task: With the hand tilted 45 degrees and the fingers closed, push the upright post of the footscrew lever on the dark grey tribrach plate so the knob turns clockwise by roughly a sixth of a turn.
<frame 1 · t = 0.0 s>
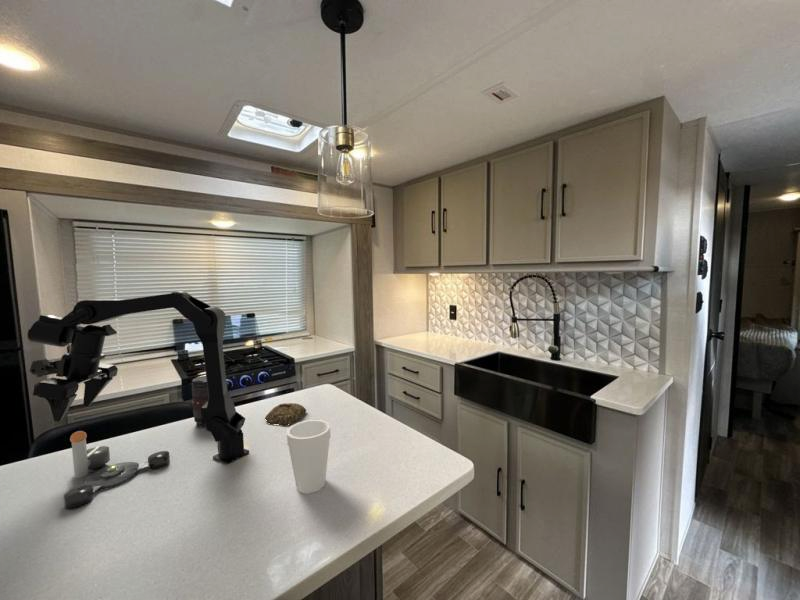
hand: (72, 413, 80), 15 cm above the worktop, tool pointing down, fingers open, 9 cm apart
tribrach: (113, 477, 79), on the worktop
footscrew lever: (88, 446, 81), point 7 cm above the worktop, hinge at 0.0°
camera lens: (208, 423, 109), on the worktop
foam cup: (310, 485, 75), on the worktop
brown rock: (284, 419, 112), on the worktop
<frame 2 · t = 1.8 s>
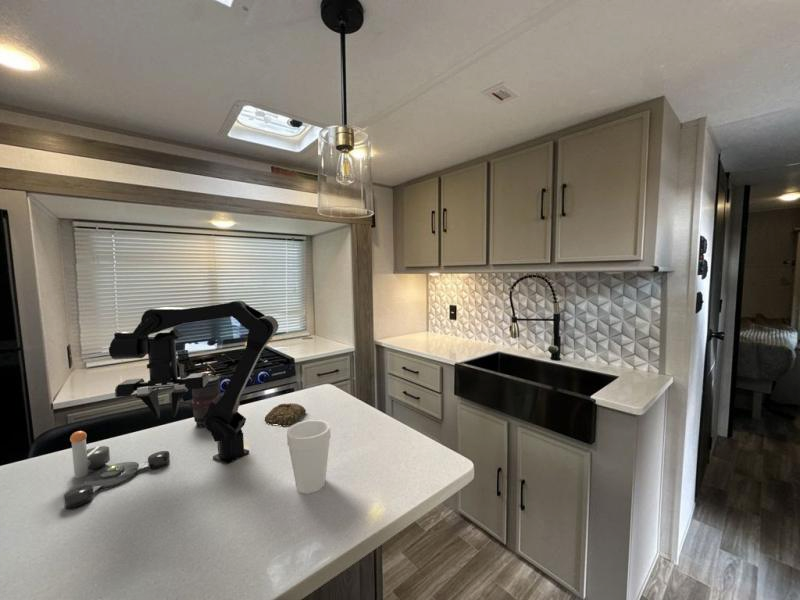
hand: (166, 416, 85), 12 cm above the worktop, tool pointing down, fingers open, 3 cm apart
nothing on the worktop moved.
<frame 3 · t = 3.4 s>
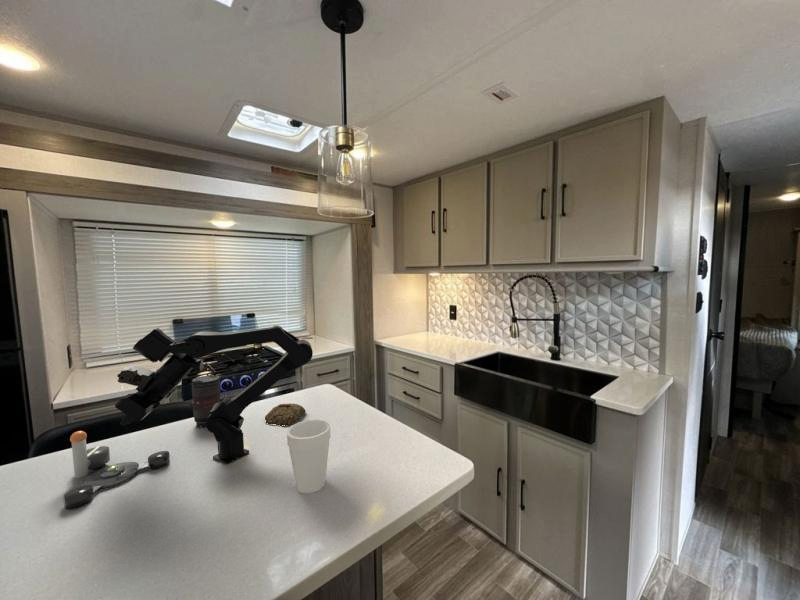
hand: (122, 424, 80), 12 cm above the worktop, tool tilted 45°, fingers closed
nothing on the worktop moved.
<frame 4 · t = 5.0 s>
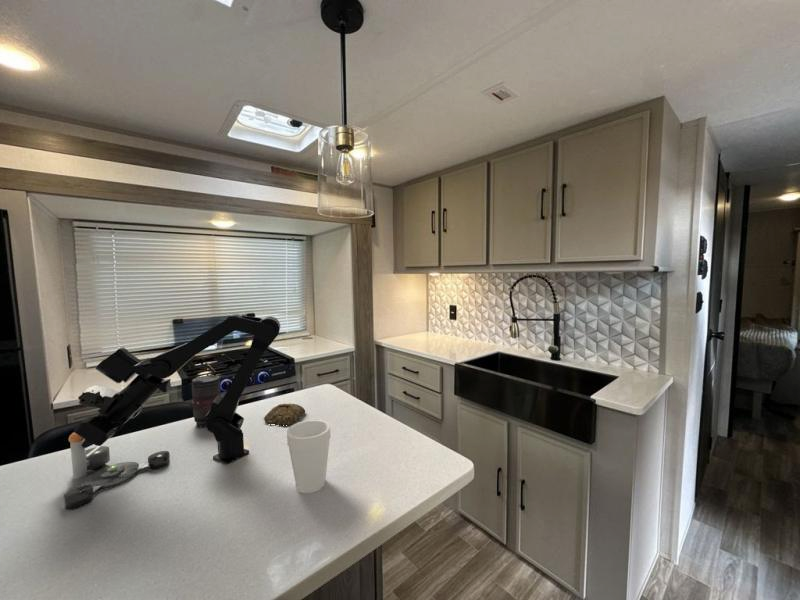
hand: (84, 446, 78), 8 cm above the worktop, tool tilted 45°, fingers closed, pressing on footscrew lever
footscrew lever: (87, 446, 81), point 7 cm above the worktop, hinge at 3.0°, touching gripper
everything else where it was.
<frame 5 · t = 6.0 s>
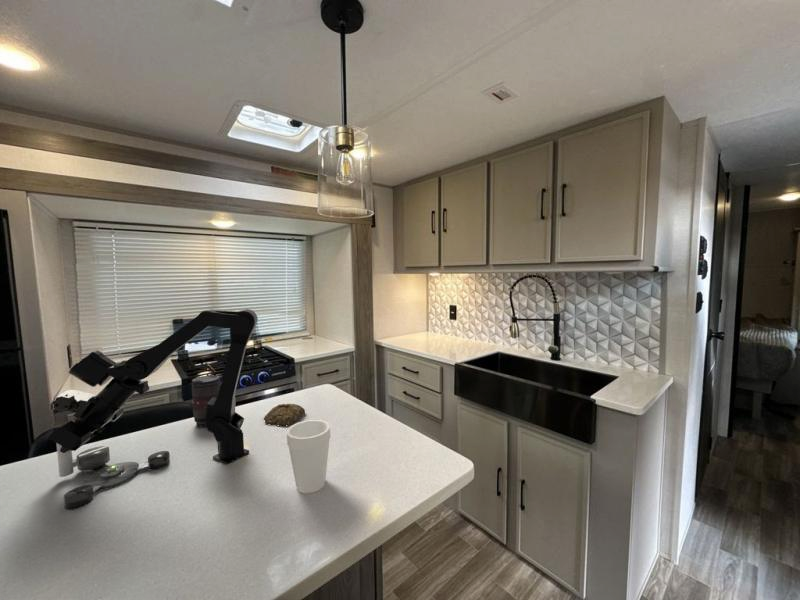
hand: (62, 451, 77), 8 cm above the worktop, tool tilted 40°, fingers closed
footscrew lever: (83, 446, 81), point 7 cm above the worktop, hinge at 49.6°, touching gripper
everything else where it was.
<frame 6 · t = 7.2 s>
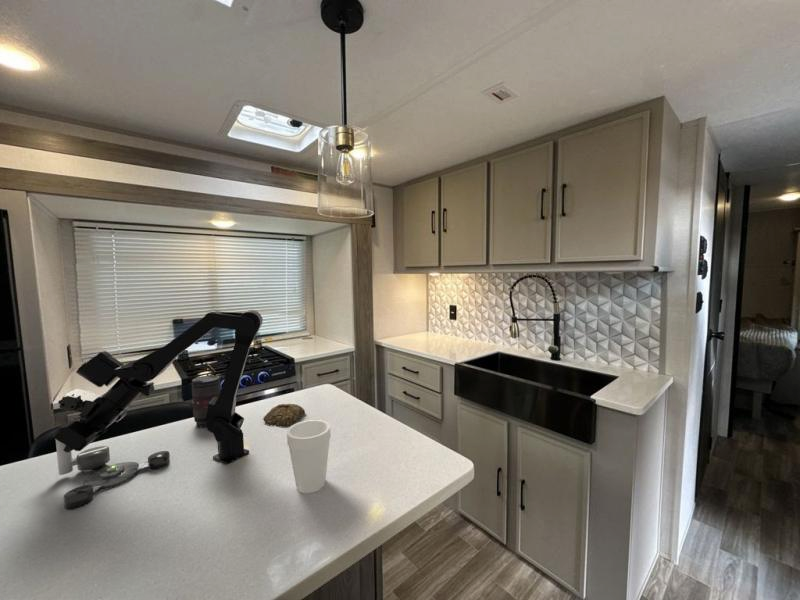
hand: (66, 450, 77), 8 cm above the worktop, tool tilted 45°, fingers closed
footscrew lever: (83, 445, 82), point 7 cm above the worktop, hinge at 64.5°
everything else where it was.
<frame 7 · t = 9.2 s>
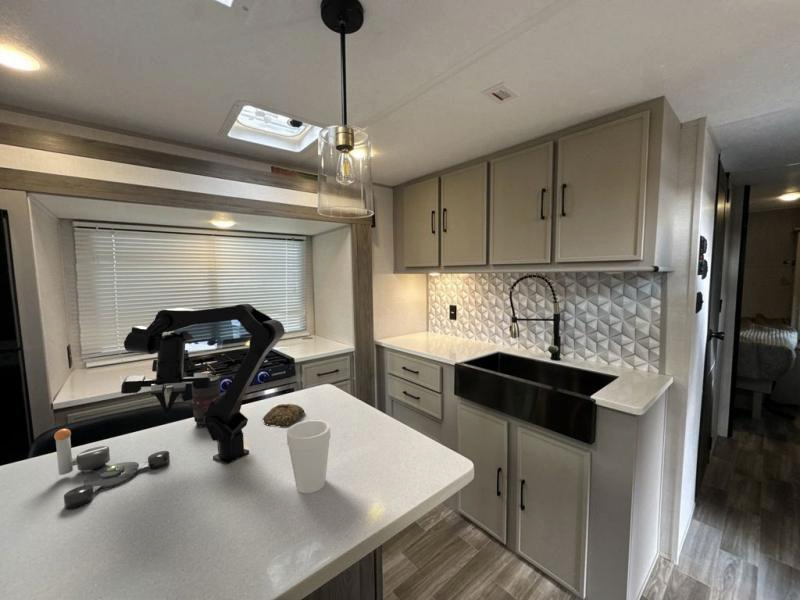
hand: (167, 413, 87), 12 cm above the worktop, tool pointing down, fingers closed
nothing on the worktop moved.
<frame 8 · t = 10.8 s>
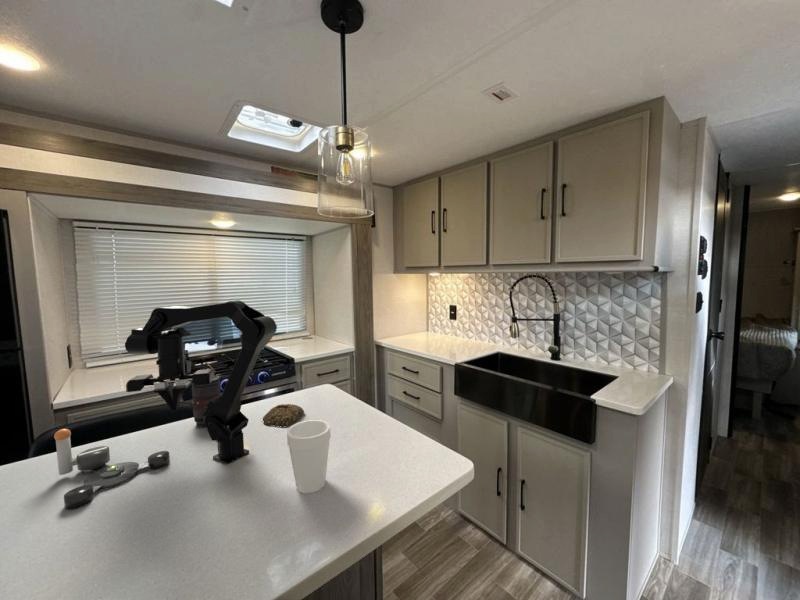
hand: (174, 411, 88), 12 cm above the worktop, tool pointing down, fingers closed
nothing on the worktop moved.
at the end: footscrew lever at +65° (first picture: +0°) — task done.
